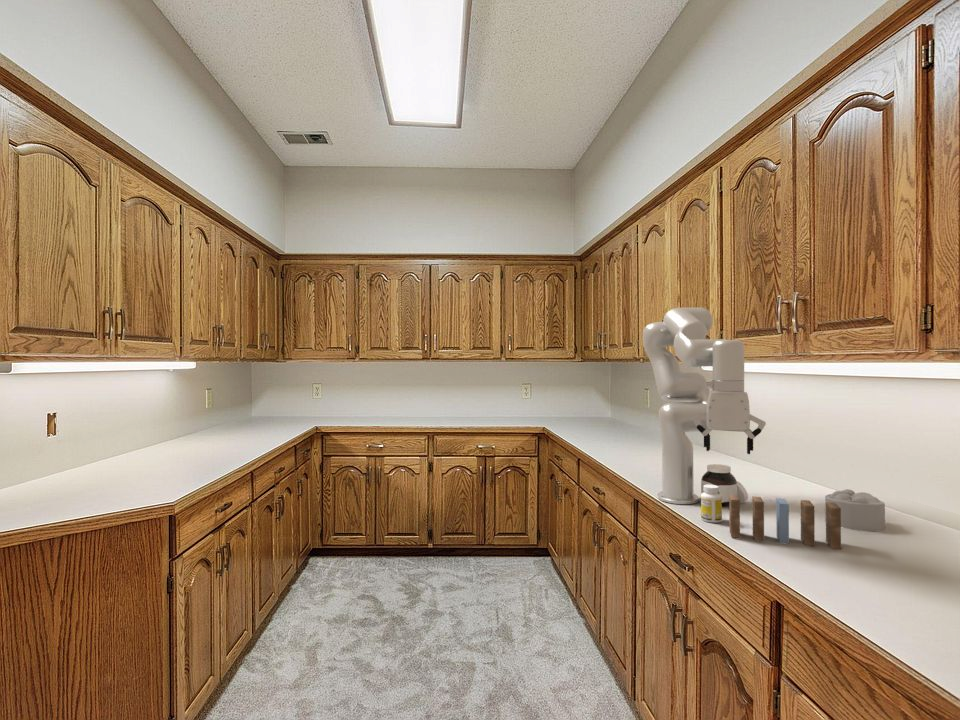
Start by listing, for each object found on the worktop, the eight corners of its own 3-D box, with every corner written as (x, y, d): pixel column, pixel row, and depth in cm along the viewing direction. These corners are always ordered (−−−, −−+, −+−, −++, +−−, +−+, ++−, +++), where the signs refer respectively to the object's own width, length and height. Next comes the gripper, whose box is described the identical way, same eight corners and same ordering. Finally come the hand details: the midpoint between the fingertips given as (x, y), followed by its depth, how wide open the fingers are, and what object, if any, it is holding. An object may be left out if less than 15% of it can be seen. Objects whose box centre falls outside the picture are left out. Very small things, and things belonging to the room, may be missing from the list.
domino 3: (805, 545, 128) (805, 505, 128) (800, 538, 133) (800, 499, 133) (814, 546, 127) (814, 506, 127) (809, 539, 132) (809, 500, 132)
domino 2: (755, 540, 132) (755, 501, 132) (752, 533, 137) (752, 496, 137) (764, 541, 131) (763, 502, 131) (761, 534, 136) (760, 496, 136)
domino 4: (831, 548, 126) (831, 507, 126) (825, 541, 131) (825, 501, 131) (841, 549, 125) (840, 508, 125) (835, 542, 130) (835, 502, 130)
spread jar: (697, 501, 166) (697, 465, 166) (715, 495, 173) (715, 460, 173) (734, 510, 157) (734, 472, 157) (752, 503, 164) (752, 466, 163)
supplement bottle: (720, 518, 150) (719, 484, 150) (723, 524, 145) (723, 489, 145) (699, 516, 151) (699, 483, 151) (702, 522, 146) (702, 488, 146)
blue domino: (779, 543, 130) (779, 503, 130) (776, 536, 135) (776, 498, 135) (788, 543, 129) (788, 504, 129) (785, 537, 134) (785, 498, 134)
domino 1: (731, 538, 134) (731, 499, 134) (729, 531, 139) (729, 494, 139) (740, 538, 133) (739, 500, 133) (737, 532, 138) (737, 495, 138)
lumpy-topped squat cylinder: (889, 532, 137) (889, 499, 136) (833, 528, 140) (833, 496, 140) (871, 519, 147) (871, 489, 146) (819, 516, 150) (818, 486, 150)
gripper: (691, 387, 137) (691, 451, 137) (766, 389, 128) (765, 457, 129) (694, 385, 143) (694, 446, 144) (765, 386, 135) (765, 451, 136)
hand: (728, 451), depth 136 cm, fingers open, 9 cm apart
